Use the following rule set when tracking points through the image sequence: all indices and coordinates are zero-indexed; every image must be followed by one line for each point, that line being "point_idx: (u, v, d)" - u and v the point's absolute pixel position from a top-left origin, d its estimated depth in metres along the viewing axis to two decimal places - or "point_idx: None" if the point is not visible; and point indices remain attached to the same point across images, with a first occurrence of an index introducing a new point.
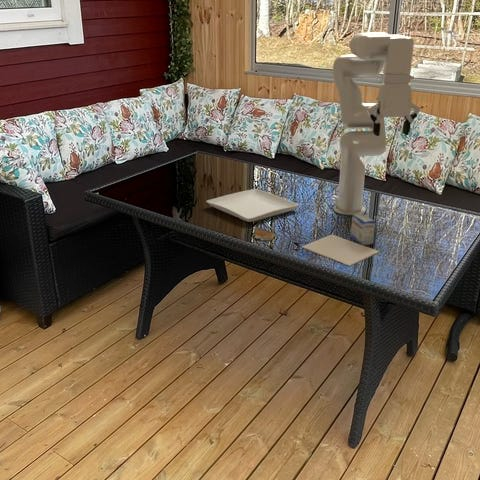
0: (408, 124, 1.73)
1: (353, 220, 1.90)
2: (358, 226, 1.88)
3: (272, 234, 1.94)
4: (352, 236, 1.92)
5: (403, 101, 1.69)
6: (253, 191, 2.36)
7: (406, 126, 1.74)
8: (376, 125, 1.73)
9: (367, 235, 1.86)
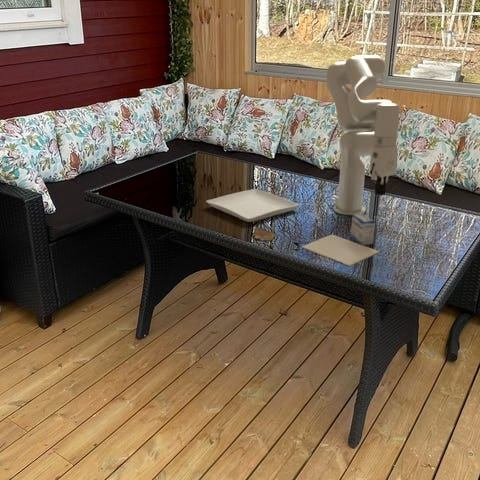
0: None
1: (353, 220, 1.90)
2: (358, 226, 1.88)
3: (272, 234, 1.94)
4: (352, 236, 1.92)
5: None
6: (253, 191, 2.36)
7: None
8: None
9: (367, 235, 1.86)
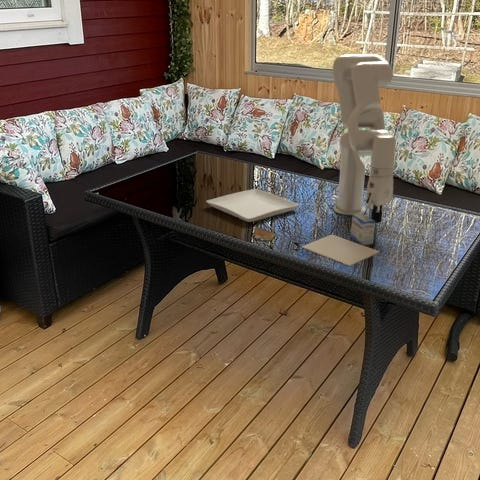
0: None
1: (353, 220, 1.90)
2: (358, 226, 1.88)
3: (272, 234, 1.94)
4: (352, 236, 1.92)
5: None
6: (253, 191, 2.36)
7: None
8: None
9: (367, 235, 1.86)
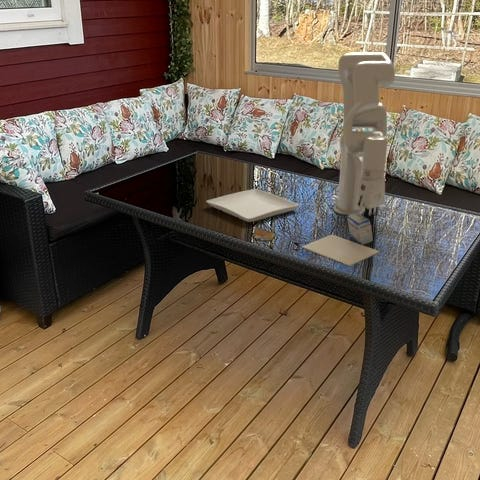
0: None
1: (348, 221, 1.90)
2: (354, 227, 1.87)
3: (272, 234, 1.94)
4: (351, 236, 1.92)
5: None
6: (253, 191, 2.36)
7: None
8: None
9: (365, 234, 1.86)
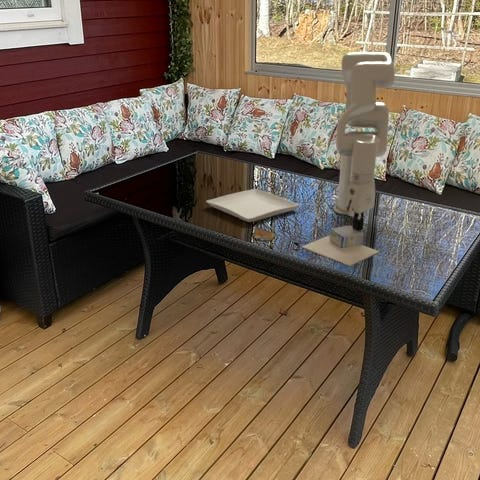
0: None
1: None
2: None
3: (272, 234, 1.94)
4: None
5: None
6: (253, 191, 2.36)
7: None
8: None
9: (354, 241, 1.85)
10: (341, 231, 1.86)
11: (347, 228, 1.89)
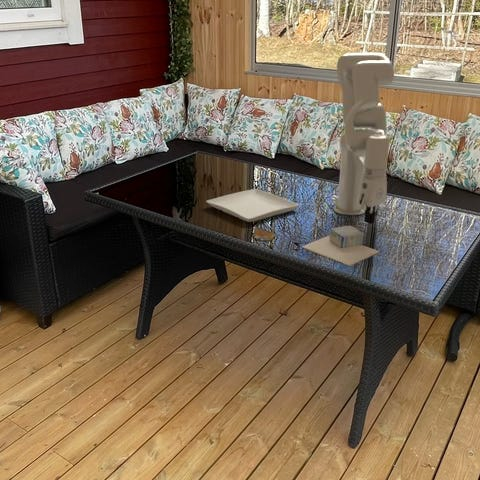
0: None
1: None
2: None
3: (272, 234, 1.94)
4: None
5: None
6: (253, 191, 2.36)
7: None
8: None
9: (354, 241, 1.85)
10: (341, 231, 1.86)
11: (347, 228, 1.89)
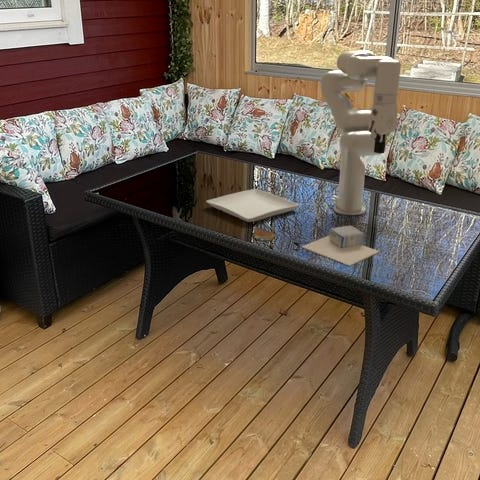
0: None
1: None
2: None
3: (272, 234, 1.94)
4: None
5: None
6: (253, 191, 2.36)
7: None
8: None
9: (354, 241, 1.85)
10: (341, 231, 1.86)
11: (347, 228, 1.89)
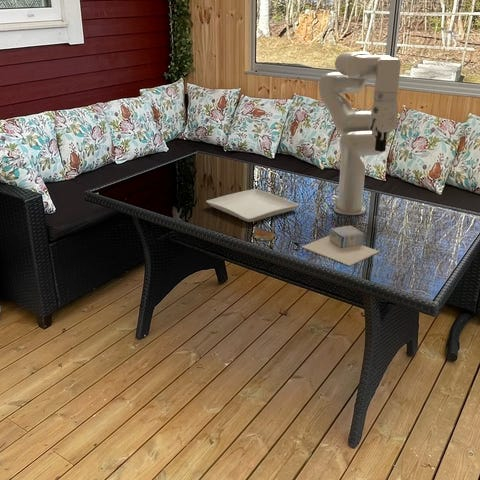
0: None
1: None
2: None
3: (272, 234, 1.94)
4: None
5: None
6: (253, 191, 2.36)
7: None
8: None
9: (354, 241, 1.85)
10: (341, 231, 1.86)
11: (347, 228, 1.89)
